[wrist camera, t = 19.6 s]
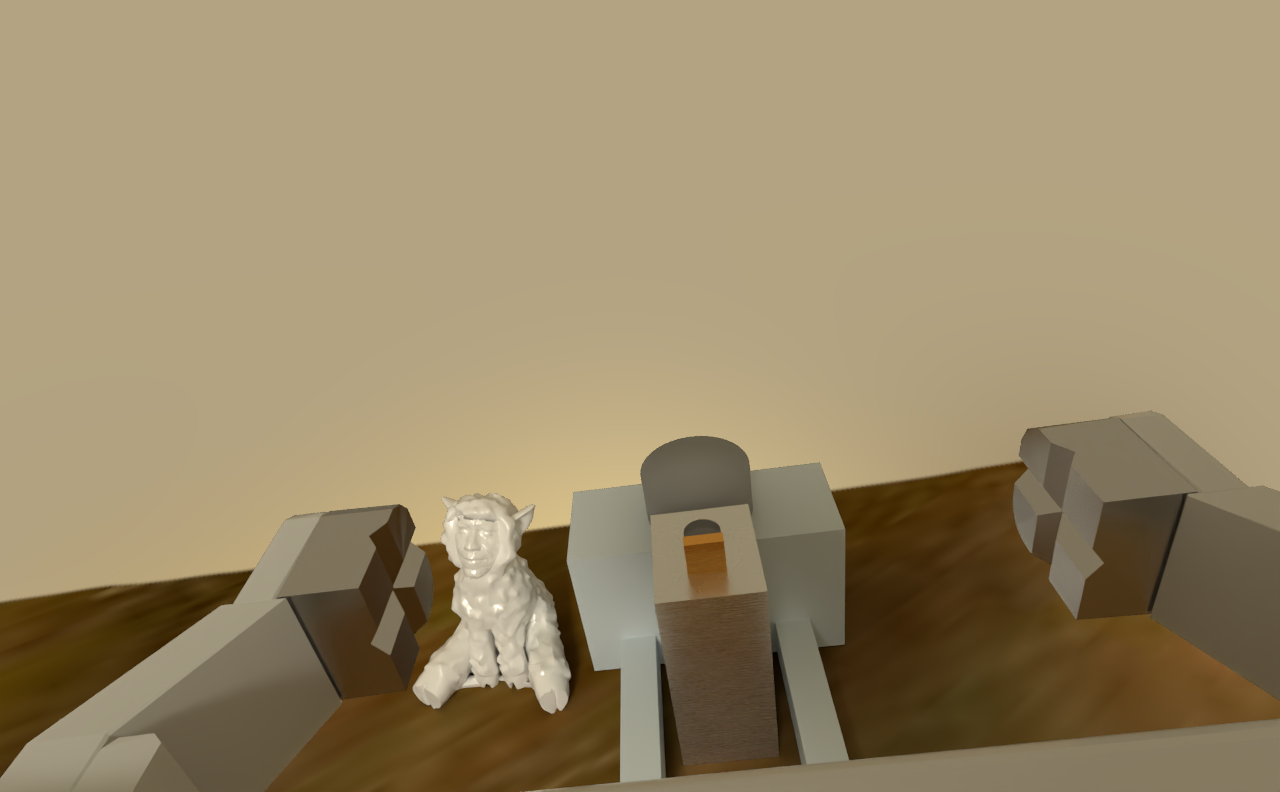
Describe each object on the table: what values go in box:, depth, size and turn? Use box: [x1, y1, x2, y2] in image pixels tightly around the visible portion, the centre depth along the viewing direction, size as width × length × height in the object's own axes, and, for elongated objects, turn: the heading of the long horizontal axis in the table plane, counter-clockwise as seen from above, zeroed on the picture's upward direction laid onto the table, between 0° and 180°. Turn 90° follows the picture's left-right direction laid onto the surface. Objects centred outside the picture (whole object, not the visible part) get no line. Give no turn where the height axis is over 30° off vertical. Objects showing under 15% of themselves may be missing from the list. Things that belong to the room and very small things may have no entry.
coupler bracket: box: [567, 436, 849, 782], centre depth 36 cm, size 15×25×12 cm, turn 1°
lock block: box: [650, 504, 779, 766], centre depth 38 cm, size 5×6×14 cm
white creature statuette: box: [413, 493, 571, 714], centre depth 44 cm, size 10×9×12 cm
